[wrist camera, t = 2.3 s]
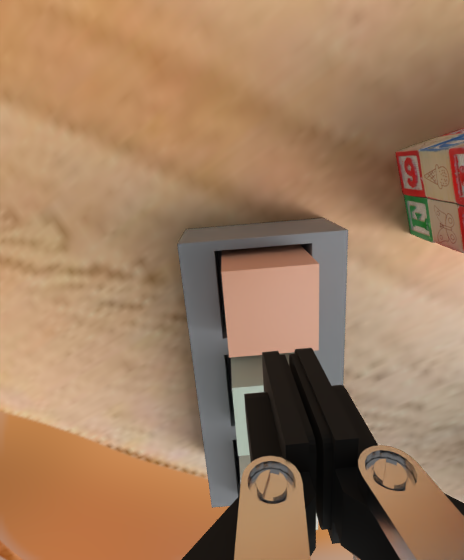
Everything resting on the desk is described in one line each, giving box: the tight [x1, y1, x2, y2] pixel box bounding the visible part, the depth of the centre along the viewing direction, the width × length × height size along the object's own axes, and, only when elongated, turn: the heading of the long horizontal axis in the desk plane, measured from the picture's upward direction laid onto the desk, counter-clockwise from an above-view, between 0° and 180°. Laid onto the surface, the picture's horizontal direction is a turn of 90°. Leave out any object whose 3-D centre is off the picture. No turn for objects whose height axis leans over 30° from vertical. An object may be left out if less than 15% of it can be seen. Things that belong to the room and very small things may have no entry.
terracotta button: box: [221, 244, 319, 358], centre depth 20 cm, size 5×5×5 cm
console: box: [177, 218, 348, 507], centre depth 25 cm, size 10×21×5 cm, turn 4°
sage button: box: [231, 352, 294, 456], centre depth 23 cm, size 5×5×5 cm
